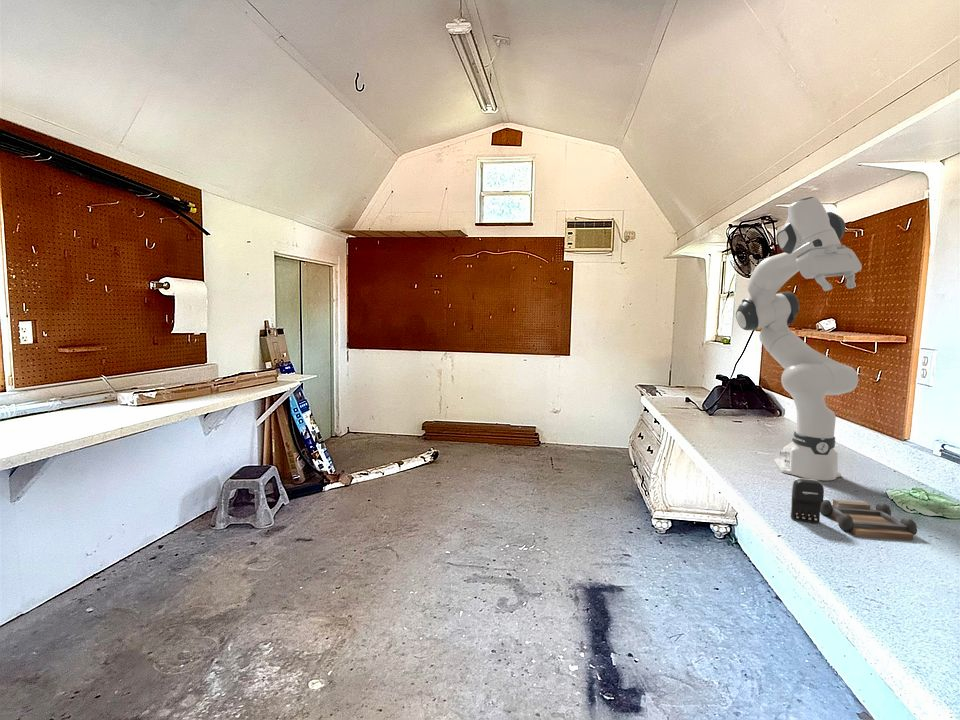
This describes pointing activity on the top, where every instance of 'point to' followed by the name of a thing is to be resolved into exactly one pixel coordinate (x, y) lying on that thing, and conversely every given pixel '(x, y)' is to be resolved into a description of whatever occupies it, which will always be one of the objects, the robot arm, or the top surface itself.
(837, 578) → the top surface
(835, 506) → the chassis
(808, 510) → the battery
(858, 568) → the top surface
